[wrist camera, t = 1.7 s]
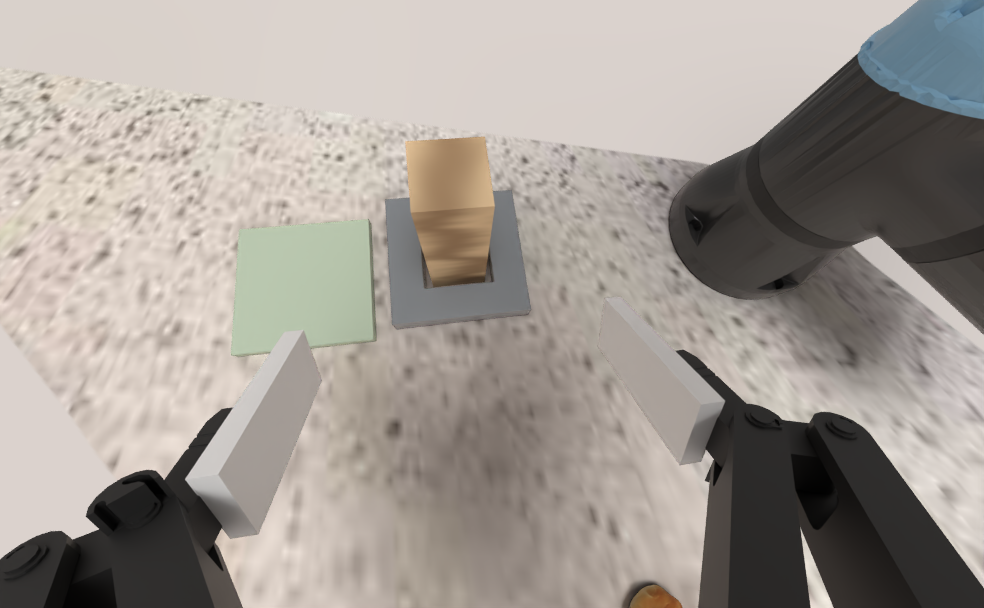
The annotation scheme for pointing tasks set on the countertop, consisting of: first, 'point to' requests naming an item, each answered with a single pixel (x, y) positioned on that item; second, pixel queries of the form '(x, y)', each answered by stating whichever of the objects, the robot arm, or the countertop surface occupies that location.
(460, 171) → the oak peg
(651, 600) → the pastry
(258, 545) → the countertop surface
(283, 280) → the rubber pad
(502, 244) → the pocket frame
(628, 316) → the robot arm
